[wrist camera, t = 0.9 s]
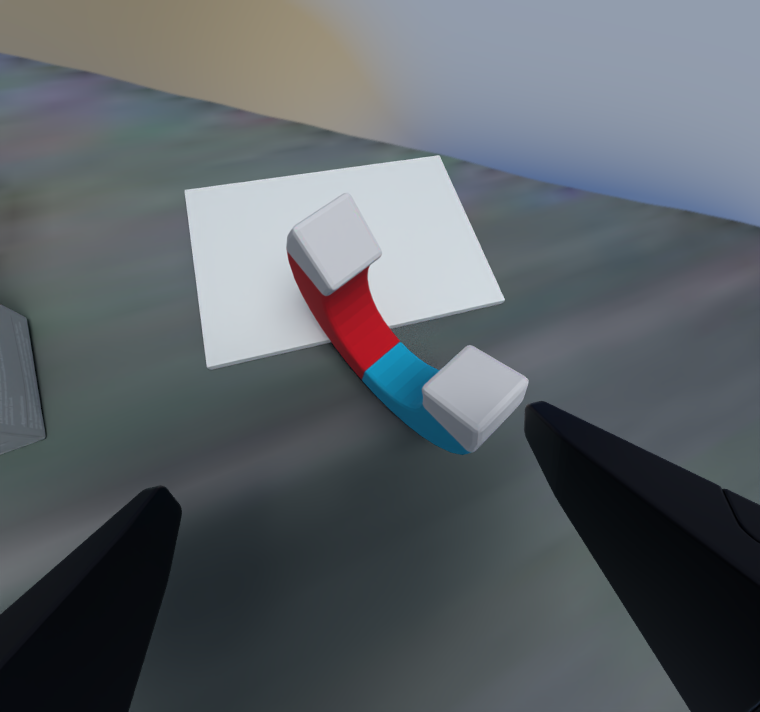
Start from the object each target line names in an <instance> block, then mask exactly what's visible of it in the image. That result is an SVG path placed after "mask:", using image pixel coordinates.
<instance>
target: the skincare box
mask: <svg viewBox="0 0 760 712" xmlns="http://www.w3.org/2000/svg"><path fill="white" fill-rule="evenodd" d="M45 437H46V435H45V428H44V422H43V417H42V411H41V405H40V398H39V392H38V386H37V380H36V374H35V368H34V361H33V355H32V348H31V342H30V336H29V330H28V324H27V318H26V317H24V316H23V315H21V314H19V313H17V312H15V311H13V310H11V309H9V308H7V307H5V306H3V305H1V304H0V454H3V453H6V452H9V451H11V450H14V449H17V448H20V447H23V446H26V445H29V444H32V443H34V442H37V441H40V440H43V439H44V438H45Z"/></svg>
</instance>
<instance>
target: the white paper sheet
mask: <svg viewBox="0 0 760 712" xmlns="http://www.w3.org/2000/svg"><path fill="white" fill-rule="evenodd" d="M343 193H349V194H350V195H351V196H352V198H353V199H354V201H355V203H356V205H357V207H358V208H359V210H360V212H361V214H362V216H363V218H364V219H365V221H366V223H367V225H368V227H369V228H370V230H371V232H372V234H373V236H374V237H375V239H376V241H377V243H378V245H379V246H380V248H381V250H382V255H381V257H380V258H379V259H378V260H376V261H375V262H374V263H372V264H371V265H370V267H369V269H368V283H369V289H370V292H371V295H372V298H373V301H374V303H375V305H376V307H377V309H378V311H379V313H380V314H381V316H382V318H383V319H384V321H385V322H386V324H387V325H388V327H389V328H390V329H392V328H397V327H401V326H405V325H410V324H414V323H419V322H423V321H427V320H432V319H436V318H441V317H445V316H449V315H454V314H458V313H462V312H467V311H471V310H476V309H480V308H484V307H489V306H493V305H498V304H502V303H503V302H504V301H505V299H504V297H503V295H502V293H501V290H500V288H499V286H498V284H497V282H496V279H495V277H494V275H493V273H492V270H491V268H490V266H489V264H488V262H487V259H486V257H485V255H484V253H483V251H482V248H481V246H480V244H479V242H478V240H477V237H476V235H475V233H474V231H473V229H472V226H471V224H470V222H469V220H468V218H467V215H466V213H465V211H464V209H463V207H462V204H461V202H460V200H459V198H458V196H457V193H456V191H455V189H454V187H453V185H452V182H451V180H450V178H449V176H448V174H447V171H446V169H445V167H444V165H443V163H442V160H441V158H440V156H431V157H424V158H417V159H409V160H402V161H395V162H387V163H380V164H373V165H365V166H358V167H351V168H343V169H336V170H329V171H321V172H314V173H307V174H299V175H292V176H285V177H277V178H270V179H263V180H255V181H248V182H241V183H234V184H226V185H219V186H212V187H204V188H197V189H190V190H185V197H186V205H187V213H188V221H189V229H190V237H191V245H192V253H193V260H194V268H195V276H196V284H197V292H198V300H199V308H200V316H201V324H202V332H203V340H204V347H205V355H206V363H207V368H208V369H210V370H212V369H217V368H221V367H225V366H230V365H234V364H238V363H243V362H247V361H252V360H256V359H260V358H265V357H269V356H274V355H278V354H282V353H287V352H291V351H296V350H300V349H304V348H309V347H313V346H318V345H322V344H326V343H331V341H330V339H329V338H328V337H327V335H326V334H325V332H324V331H323V329H322V328H321V326H320V325H319V323H318V322H317V320H316V319H315V317H314V315H313V314H312V312H311V310H310V309H309V307H308V305H307V303H306V301H305V300H304V298H303V296H302V294H301V292H300V290H299V288H298V285H297V283H296V281H295V279H294V276H293V273H292V270H291V267H290V264H289V261H288V255H287V250H286V244H287V236H288V234H289V232H290V231H291V229H292V228H293V226H294V225H296V224H297V223H299V222H300V221H302V220H303V219H305V218H306V217H308V216H309V215H311V214H312V213H314V212H316V211H317V210H319V209H320V208H322V207H323V206H325V205H326V204H328V203H329V202H331V201H332V200H334V199H335V198H337V197H339V196H340V195H342V194H343Z"/></svg>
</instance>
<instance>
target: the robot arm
mask: <svg viewBox="0 0 760 712" xmlns="http://www.w3.org/2000/svg"><path fill="white" fill-rule="evenodd" d="M524 432H525V436H526V438H527V441H528V443H529V445H530V447H531V449H532V451H533V453H534V455H535V457H536V459H537V461H538V463H539V465H540V467H541V469H542V471H543V473H544V475H545V477H546V479H547V481H548V483H549V485H550V487H551V489H552V491H553V493H554V495H555V497H556V498H557V500H558V502H559V504H560V505H561V507H562V508H563V510H564V512H565V513H566V515H567V516H568V518H569V519H570V521H571V523H572V524H573V526H574V527H575V529H576V531H577V532H578V534H579V535H580V537H581V538H582V540H583V542H584V543H585V545H586V546H587V548H588V550H589V551H590V553H591V554H592V556H593V558H594V559H595V561H596V562H597V564H598V565H599V567H600V569H601V570H602V572H603V573H604V575H605V577H606V578H607V580H608V581H609V583H610V584H611V586H612V588H613V589H614V591H615V592H616V594H617V596H618V597H619V599H620V600H621V602H622V603H623V605H624V607H625V608H626V610H627V611H628V613H629V615H630V616H631V618H632V619H633V621H634V622H635V624H636V626H637V627H638V629H639V630H640V632H641V634H642V635H643V637H644V638H645V640H646V642H647V643H648V645H649V646H650V648H651V649H652V651H653V653H654V654H655V656H656V657H657V659H658V661H659V662H660V664H661V665H662V667H663V668H664V670H665V672H666V673H667V675H668V676H669V678H670V680H671V681H672V683H673V684H674V686H675V687H676V689H677V691H678V692H679V694H680V695H681V697H682V699H683V700H684V702H685V703H686V705H687V706H688V708H689V710H690V711H691V712H760V505H759V504H757V503H755V502H752V501H750V500H748V499H746V498H744V497H742V496H740V495H738V494H736V493H734V492H732V491H730V490H728V489H722V488H721V487H720V486H719V485H717V484H715V483H713V482H711V481H709V480H707V479H704V478H702V477H700V476H698V475H696V474H694V473H692V472H690V471H688V470H686V469H684V468H682V467H680V466H678V465H675V464H673V463H671V462H669V461H667V460H665V459H663V458H661V457H659V456H657V455H655V454H653V453H651V452H648V451H646V450H644V449H642V448H640V447H638V446H636V445H634V444H632V443H630V442H628V441H626V440H624V439H622V438H619V437H617V436H615V435H613V434H611V433H609V432H607V431H605V430H603V429H601V428H599V427H597V426H595V425H593V424H590V423H588V422H586V421H584V420H582V419H580V418H578V417H576V416H574V415H572V414H570V413H568V412H566V411H564V410H561V409H559V408H557V407H555V406H553V405H551V404H549V403H547V402H544V401H539V402H534V403H530V404H527V405H526V407H525V417H524ZM181 516H182V510H181V506H180V504H179V503H178V502H177V501H176V499H175V498H174V497H173V495H172V494H171V493H170V492H169V490H168V489H167V488H166V487H164V486H156V487H152V488H147V489H145V490H143V491H142V492H140V493H139V494H138V495H137V496H136V497H135V498H133V499H132V500H131V501H130V502H129V503H128V504H127V505H125V506H124V507H123V508H122V509H121V510H120V511H119V512H117V513H116V514H115V515H114V516H113V517H112V518H111V519H109V520H108V521H107V522H106V523H105V524H104V525H103V526H101V527H100V528H99V529H98V530H97V531H96V532H94V533H93V534H92V535H91V536H90V537H89V538H88V539H86V540H85V541H84V542H83V543H82V544H81V545H80V546H78V547H77V548H76V549H75V550H74V551H73V552H72V553H70V554H69V555H68V556H67V557H66V558H65V559H64V560H62V561H61V562H60V563H59V564H58V565H57V566H56V567H54V568H53V569H52V570H51V571H50V572H49V573H47V574H46V575H45V576H44V577H43V578H42V579H41V580H39V581H38V582H37V583H36V584H35V585H34V586H33V587H31V588H30V589H29V590H28V591H27V592H26V593H25V594H23V595H22V596H21V597H20V598H19V599H18V600H17V601H15V602H14V603H13V604H12V605H11V606H10V607H9V608H7V609H6V610H5V611H4V612H3V613H2V614H1V615H0V712H128V711H129V708H130V705H131V701H132V698H133V695H134V691H135V688H136V685H137V682H138V678H139V675H140V672H141V668H142V665H143V662H144V659H145V655H146V652H147V649H148V645H149V642H150V639H151V636H152V632H153V629H154V626H155V622H156V619H157V616H158V613H159V609H160V606H161V603H162V599H163V596H164V593H165V589H166V586H167V582H168V578H169V574H170V570H171V565H172V560H173V555H174V550H175V545H176V540H177V535H178V531H179V526H180V521H181Z"/></svg>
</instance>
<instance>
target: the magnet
mask: <svg viewBox="0 0 760 712" xmlns="http://www.w3.org/2000/svg"><path fill="white" fill-rule="evenodd" d="M286 250H287V255H288V261H289V264H290V267H291V270H292V273H293V276H294V279H295V281H296V283H297V285H298V288H299V290H300V292H301V294H302V296H303V298H304V300H305V301H306V303H307V305H308V307H309V309H310V310H311V312H312V314H313V315H314V317H315V319H316V320H317V322H318V323H319V325H320V326H321V328H322V329H323V331H324V332H325V334H326V335H327V337H328V338H329V339H330V341H331V342H332V344H333V345H334V346H335V348H336V349H337V350H338V352H339V353H340V354H341V355H342V357H343V358H344V359H345V361H346V362H347V363H348V364H349V366H350V367H351V368H352V369H353V370H354V372H355V373H356V374H357V375H358V376H359V377H360V379H361V380H362V381H363V382H364V383H365V384H366V385H367V386H368V387H369V389H370V390H371V391H372V392H373V393H374V394H375V395H376V396H377V397H378V398H379V399H380V400H381V401H382V402H383V403H384V404H385V405H386V406H387V407H388V408H389V409H390V410H391V411H392V412H393V413H394V414H395V415H396V416H398V417H399V418H400V419H401V420H402V421H403V422H404V423H405V424H407V425H408V426H409V427H410V428H412V429H413V430H414V431H416V432H417V433H418V434H419V435H421V436H422V437H424V438H425V439H427V440H428V441H430V442H431V443H433V444H434V445H436V446H438V447H440V448H443V449H445V450H447V451H449V452H451V453H456V454H461V455H464V454H468V453H472V452H474V451H476V450H477V449H478V448H479V447H480V446H481V445H482V444H483V442H484V441H485V440H486V439H487V438H488V437H489V436H490V435H491V434H492V433H493V432H494V431H495V430H496V429H497V428H498V427H499V426H500V425H501V424H502V423H503V422H504V421H505V420H506V418H507V417H508V416H509V415H510V414H511V413H512V412H513V411H514V410H515V409H516V408H517V407H518V405H519V404H520V403H521V402H522V401H523V399H524V395H525V392H526V389H527V386H528V382H529V381H528V379H527V378H526V377H525V376H523V375H522V374H520V373H518V372H516V371H515V370H513V369H511V368H510V367H508V366H506V365H504V364H503V363H501V362H499V361H498V360H496V359H494V358H492V357H491V356H489V355H487V354H486V353H484V352H482V351H480V350H479V349H477V348H475V347H474V346H471V345H468V346H466V347H465V348H464V349H463V350H462V351H461V352H460V353H458V354H457V355H456V356H455V357H454V358H453V359H452V360H451V361H450V362H449V363H448V364H446V365H445V366H444V367H443V368H442V369H441V370H437V369H435V368H433V367H431V366H429V365H427V364H426V363H425V362H423V361H422V360H420V359H419V358H418V357H416V356H415V355H414V354H413V353H412V352H410V351H409V350H408V349H407V348H406V347H405V346H404V345H403V344H402V343H401V342H400V340H399V339H398V338H397V337H396V336H395V334H394V333H393V332H392V331H391V329H390V328H389V327H388V325H387V324H386V322H385V321H384V319H383V318H382V316H381V314H380V313H379V311H378V309H377V307H376V305H375V303H374V301H373V298H372V295H371V292H370V289H369V283H368V269H369V267H370V265H371V264H372V263H374V262H375V261H376V260H378V259H379V258H380V257H381V255H382V250H381V248H380V246H379V245H378V243H377V241H376V239H375V237H374V236H373V234H372V232H371V230H370V228H369V227H368V225H367V223H366V221H365V219H364V218H363V216H362V214H361V212H360V210H359V208H358V207H357V205H356V203H355V201H354V199H353V198H352V196H351V195H350V194H349V193H343V194H342V195H340V196H339V197H337V198H335V199H334V200H332V201H331V202H329V203H328V204H326V205H325V206H323V207H322V208H320V209H319V210H317V211H316V212H314V213H312V214H311V215H309V216H308V217H306V218H305V219H303V220H302V221H300V222H299V223H297V224H296V225H294V226H293V228H292V229H291V231H290V232H289V234H288V236H287V244H286Z"/></svg>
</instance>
